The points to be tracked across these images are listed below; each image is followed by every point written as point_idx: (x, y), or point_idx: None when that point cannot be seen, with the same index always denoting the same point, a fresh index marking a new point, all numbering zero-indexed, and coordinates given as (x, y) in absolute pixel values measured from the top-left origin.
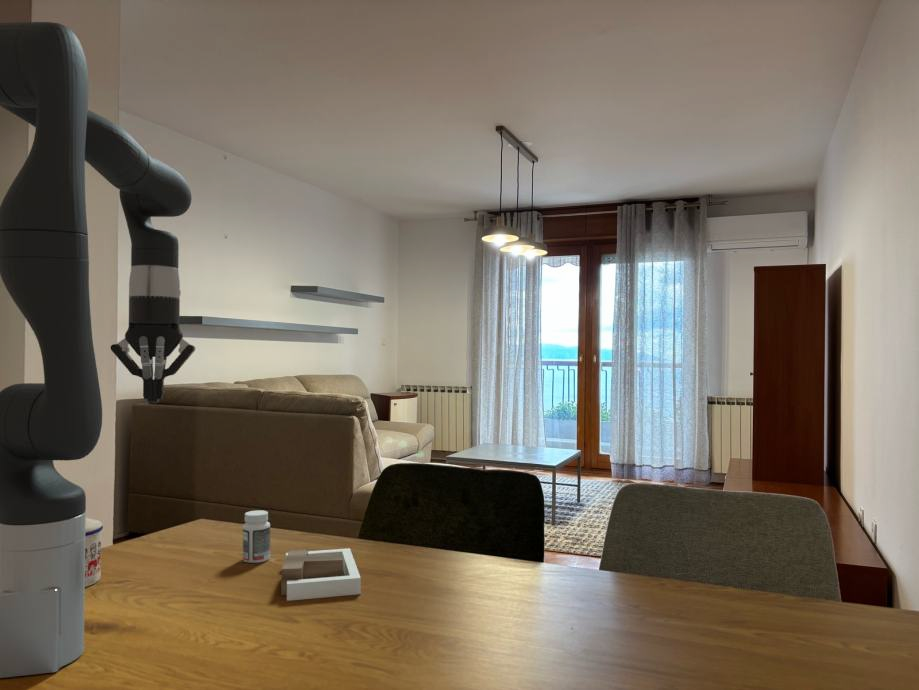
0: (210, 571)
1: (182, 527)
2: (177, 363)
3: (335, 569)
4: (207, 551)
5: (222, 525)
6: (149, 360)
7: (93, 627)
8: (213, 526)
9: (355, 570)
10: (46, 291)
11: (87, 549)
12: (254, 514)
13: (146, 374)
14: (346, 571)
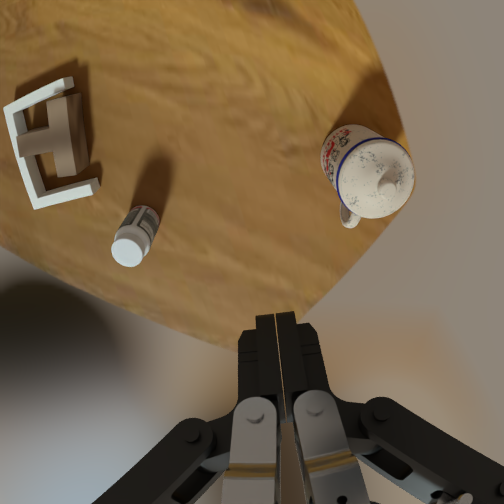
0: (187, 178)
1: None
2: (149, 474)
3: (27, 132)
4: (216, 255)
5: (230, 342)
6: (310, 486)
7: (271, 4)
8: None
9: (10, 130)
10: None
11: (341, 147)
12: (125, 244)
13: (317, 410)
14: None
